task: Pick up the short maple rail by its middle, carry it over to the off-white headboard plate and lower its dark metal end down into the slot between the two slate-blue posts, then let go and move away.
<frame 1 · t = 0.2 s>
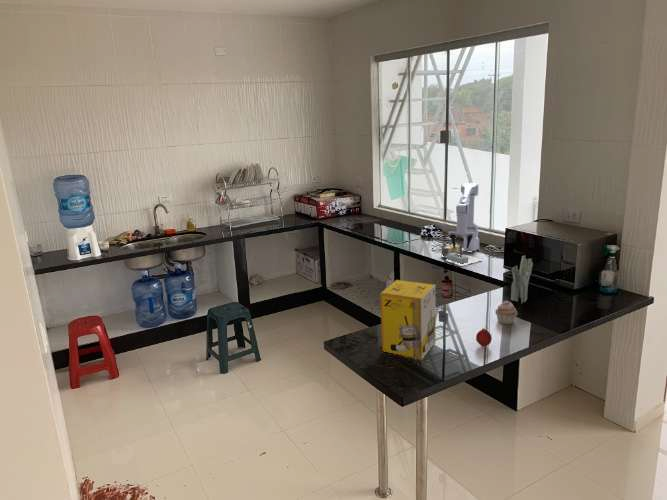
hand: (460, 247, 290), 11 cm above the worktop, tool pointing down, fingers open, 7 cm apart
onion: (483, 347, 196), on the worktop
pale green stalk cluster: (519, 300, 239), on the worktop
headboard: (458, 262, 298), on the worktop
packaging box: (409, 348, 199), on the worktop
cupcake: (506, 322, 216), on the worktop
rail: (451, 255, 312), on the worktop
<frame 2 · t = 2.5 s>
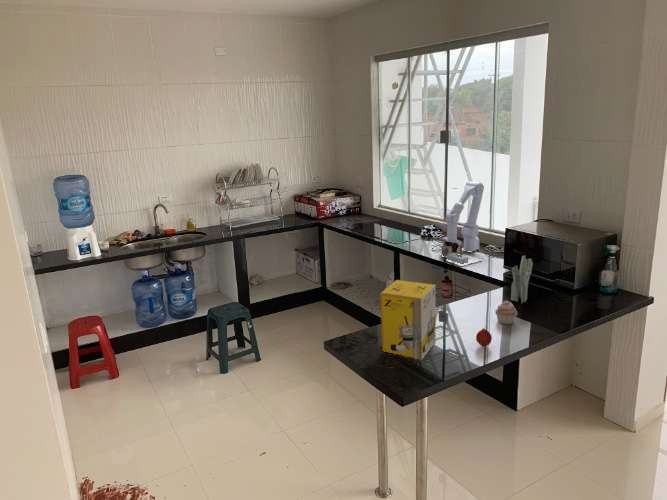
hand: (451, 253, 312), 1 cm above the worktop, tool pointing down, fingers closed on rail, 4 cm apart
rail: (451, 255, 312), on the worktop, touching gripper
everything else where it was.
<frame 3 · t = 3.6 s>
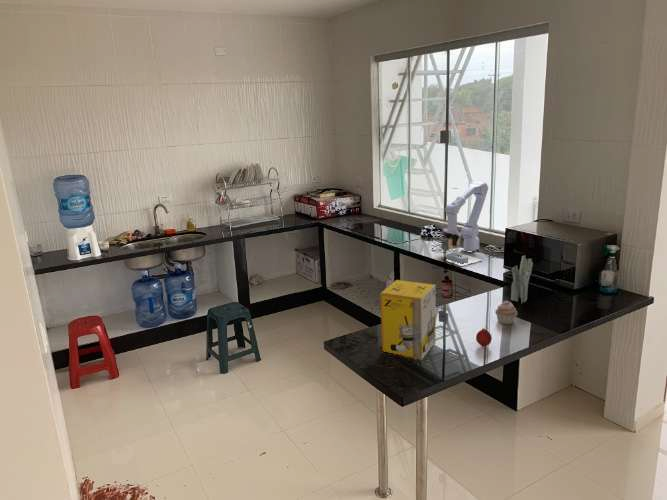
hand: (452, 245, 310), 7 cm above the worktop, tool pointing down, fingers closed on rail, 4 cm apart
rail: (451, 247, 311), point 5 cm above the worktop, touching gripper
everything else where it was.
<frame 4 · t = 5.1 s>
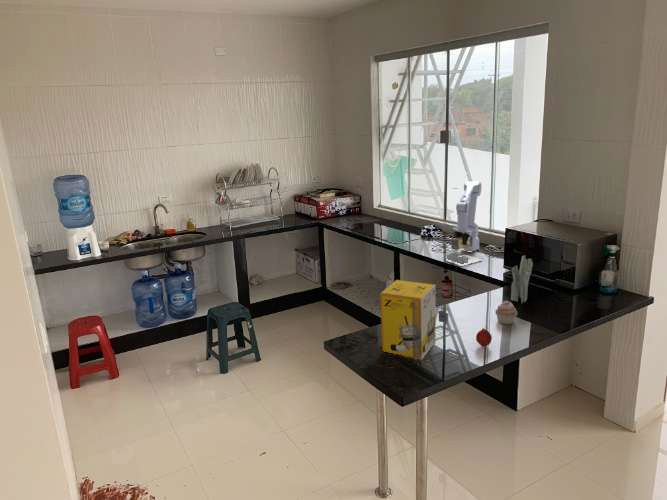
hand: (462, 244, 302), 9 cm above the worktop, tool pointing down, fingers closed on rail, 4 cm apart
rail: (461, 247, 302), point 7 cm above the worktop, touching gripper
everything else where it was.
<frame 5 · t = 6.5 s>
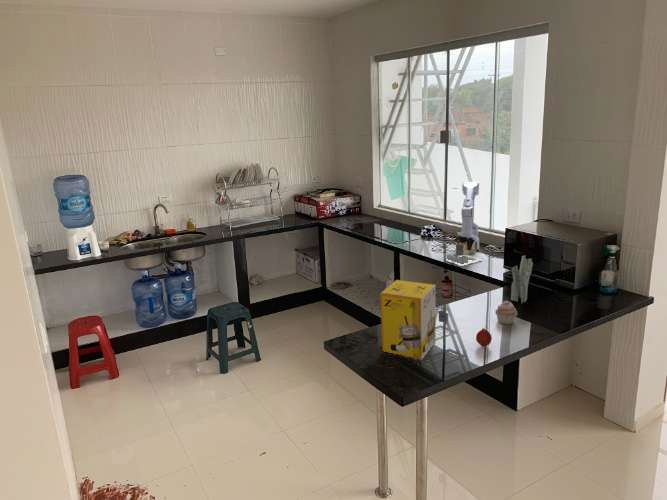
hand: (466, 249, 299), 7 cm above the worktop, tool pointing down, fingers closed on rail, 4 cm apart
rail: (466, 252, 299), point 5 cm above the worktop, touching gripper
everything else where it was.
when the fingers open (3 cm above the worktop, at t = 7.7 s): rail stays where it is, resting on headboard.
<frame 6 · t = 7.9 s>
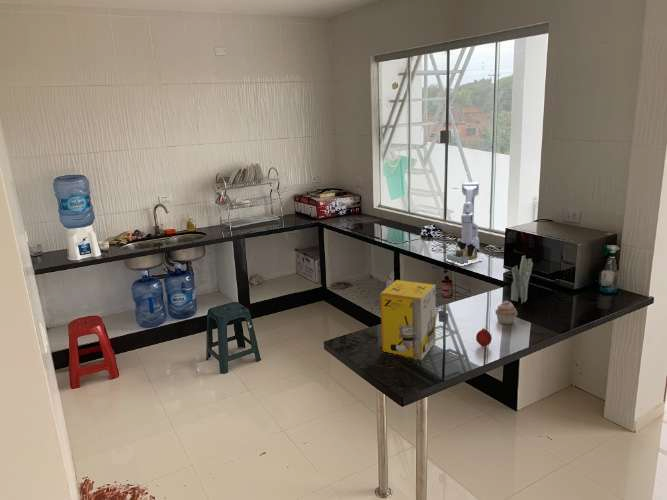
hand: (466, 255, 300), 3 cm above the worktop, tool pointing down, fingers open, 5 cm apart
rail: (466, 259, 301), point 1 cm above the worktop, touching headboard
everything else where it was.
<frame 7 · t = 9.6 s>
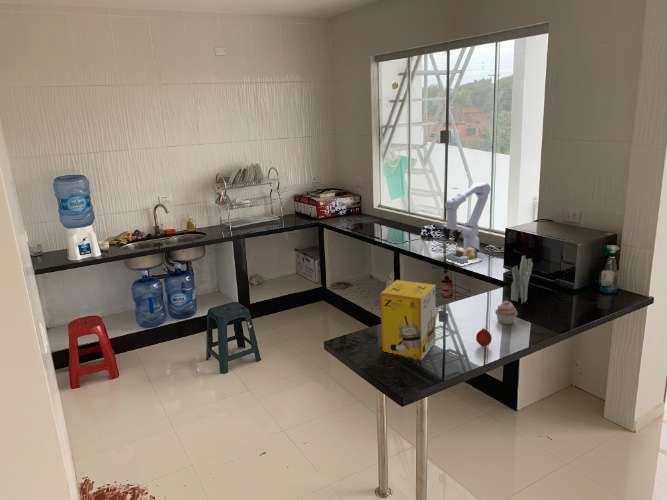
hand: (451, 240, 310), 9 cm above the worktop, tool pointing down, fingers open, 7 cm apart
nothing on the worktop moved.
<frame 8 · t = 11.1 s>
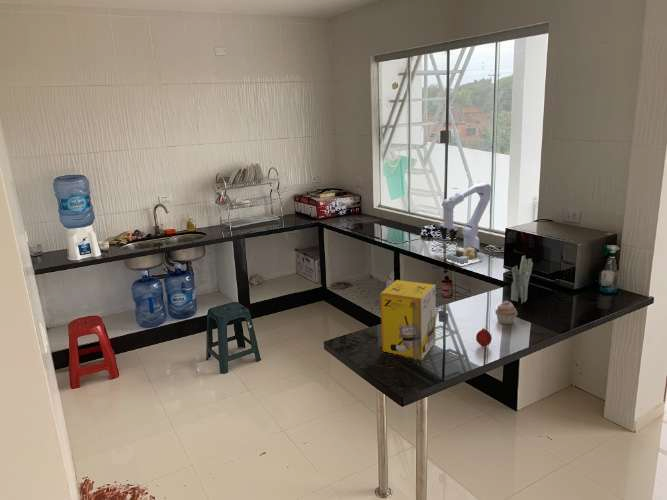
hand: (448, 239, 313), 9 cm above the worktop, tool pointing down, fingers open, 7 cm apart
nothing on the worktop moved.
at the end: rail 0.1 cm from the target spot on the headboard, point 1.0 cm above the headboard's base; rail tilted 0°; the gripper is holding nothing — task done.
